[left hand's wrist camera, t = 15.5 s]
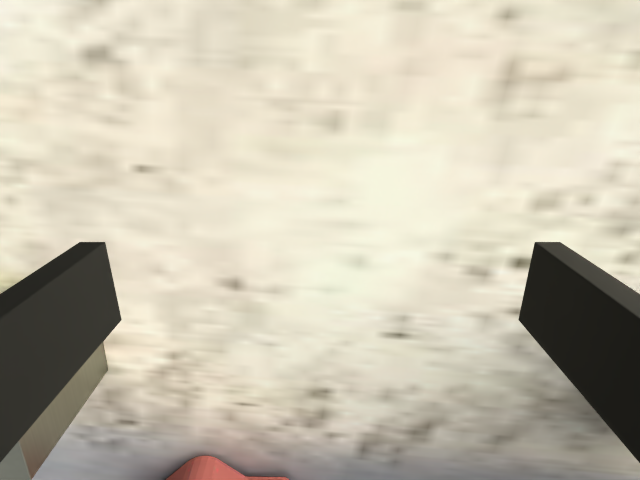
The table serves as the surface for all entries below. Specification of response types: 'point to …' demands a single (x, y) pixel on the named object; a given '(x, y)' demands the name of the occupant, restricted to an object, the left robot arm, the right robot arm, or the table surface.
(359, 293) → the table surface
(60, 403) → the brick
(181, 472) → the plaque
